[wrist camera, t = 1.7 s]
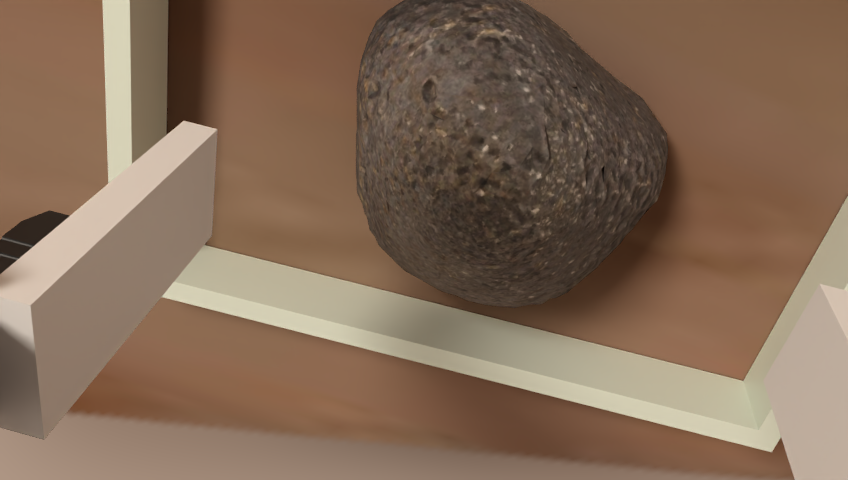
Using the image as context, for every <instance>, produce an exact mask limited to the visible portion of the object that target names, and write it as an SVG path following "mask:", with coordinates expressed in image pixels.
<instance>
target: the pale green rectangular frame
mask: <svg viewBox="0 0 848 480" xmlns="http://www.w3.org/2000/svg"><path fill="white" fill-rule="evenodd" d="M103 27H104V59H105V90H106V121H107V153H108V184H109V183H110V182H111V181H112V180H113V179H115V178H116V177H117V176H118V175H119V174H121V173H122V172H123V171H124V170H125V169H127V168H128V167H129V166H130V165H131V164H133V163H134V162H135V161H136V160H137V159H139V158H140V157H141V156H142V155H143V154H144V153H146V152H147V151H148V150H149V149H150V148H152V147H153V146H154V145H155V144H156V143H158V142H159V141H160V140H161V139H162V138H164V137H165V136H166V135H167V66H168V0H103ZM819 284H823V285H827V286H831V287H834V288H838V289H842V290H846V291H848V196H847V198H846V200H845V202H844V204H843V205H842V207H841V209H840V211H839V212H838V214H837V216H836V218H835V220H834V221H833V223H832V225H831V227H830V228H829V230H828V232H827V234H826V235H825V237H824V239H823V241H822V243H821V244H820V246H819V248H818V250H817V251H816V253H815V255H814V257H813V259H812V260H811V262H810V264H809V266H808V267H807V269H806V271H805V273H804V274H803V276H802V278H801V280H800V282H799V283H798V285H797V287H796V289H795V290H794V292H793V294H792V296H791V297H790V299H789V301H788V303H787V305H786V306H785V308H784V310H783V312H782V313H781V315H780V317H779V319H778V321H777V322H776V324H775V326H774V328H773V329H772V331H771V333H770V335H769V336H768V338H767V340H766V342H765V344H764V345H763V347H762V349H761V351H760V352H759V354H758V356H757V358H756V360H755V361H754V363H753V365H752V367H751V368H750V370H749V372H748V374H747V375H746V377H745V379H744V381H741V380H737V379H733V378H729V377H726V376H722V375H718V374H714V373H710V372H706V371H702V370H698V369H694V368H690V367H686V366H682V365H678V364H674V363H670V362H666V361H662V360H658V359H654V358H650V357H646V356H642V355H638V354H634V353H630V352H626V351H622V350H618V349H614V348H611V347H607V346H603V345H599V344H595V343H591V342H587V341H583V340H579V339H575V338H571V337H567V336H563V335H559V334H555V333H551V332H547V331H543V330H539V329H535V328H531V327H527V326H523V325H519V324H515V323H511V322H507V321H503V320H499V319H495V318H492V317H488V316H484V315H480V314H476V313H472V312H468V311H464V310H460V309H456V308H452V307H448V306H444V305H440V304H436V303H432V302H428V301H424V300H420V299H416V298H412V297H408V296H404V295H400V294H396V293H392V292H388V291H384V290H380V289H377V288H373V287H369V286H365V285H361V284H357V283H353V282H349V281H345V280H341V279H337V278H333V277H329V276H325V275H321V274H317V273H313V272H309V271H305V270H301V269H297V268H293V267H289V266H285V265H281V264H277V263H273V262H269V261H265V260H261V259H258V258H254V257H250V256H246V255H242V254H238V253H234V252H230V251H226V250H222V249H218V248H214V247H210V246H206V245H204V246H203V247H202V248H201V249H200V251H199V252H198V253H197V254H196V255H195V257H194V258H193V259H192V260H191V262H190V263H189V264H188V265H187V266H186V268H185V269H184V270H183V271H182V273H181V274H180V275H179V276H178V277H177V279H176V280H175V281H174V282H173V283H172V285H171V286H170V287H169V288H168V290H167V291H166V292H165V293H164V294H163V296H162V297H164V298H168V299H172V300H176V301H180V302H184V303H188V304H191V305H195V306H199V307H203V308H207V309H211V310H215V311H219V312H223V313H227V314H231V315H235V316H239V317H242V318H246V319H250V320H254V321H258V322H262V323H266V324H270V325H274V326H278V327H282V328H286V329H290V330H294V331H297V332H301V333H305V334H309V335H313V336H317V337H321V338H325V339H329V340H333V341H337V342H341V343H345V344H349V345H352V346H356V347H360V348H364V349H368V350H372V351H376V352H380V353H384V354H388V355H392V356H396V357H400V358H404V359H407V360H411V361H415V362H419V363H423V364H427V365H431V366H435V367H439V368H443V369H447V370H451V371H455V372H458V373H462V374H466V375H470V376H474V377H478V378H482V379H486V380H490V381H494V382H498V383H502V384H506V385H510V386H513V387H517V388H521V389H525V390H529V391H533V392H537V393H541V394H545V395H549V396H553V397H557V398H561V399H565V400H568V401H572V402H576V403H580V404H584V405H588V406H592V407H596V408H600V409H604V410H608V411H612V412H616V413H620V414H623V415H627V416H631V417H635V418H639V419H643V420H647V421H651V422H655V423H659V424H663V425H667V426H671V427H674V428H678V429H682V430H686V431H690V432H694V433H698V434H702V435H706V436H710V437H714V438H718V439H722V440H726V441H729V442H733V443H737V444H741V445H745V446H749V447H753V448H757V449H761V450H765V451H769V452H772V451H773V449H774V448H775V446H776V445H777V443H778V441H779V440H780V438H781V435H780V432H779V428H778V425H777V422H776V419H775V416H774V413H773V410H772V407H771V403H770V400H769V397H768V394H767V391H766V388H765V385H764V381H763V380H764V378H765V377H766V375H767V373H768V372H769V370H770V368H771V366H772V365H773V363H774V361H775V360H776V358H777V356H778V354H779V353H780V351H781V349H782V348H783V346H784V344H785V342H786V341H787V339H788V337H789V335H790V334H791V332H792V330H793V329H794V327H795V325H796V323H797V322H798V320H799V318H800V317H801V315H802V313H803V311H804V310H805V308H806V306H807V305H808V303H809V301H810V299H811V298H812V296H813V294H814V292H815V291H816V289H817V287H818V286H819Z"/></svg>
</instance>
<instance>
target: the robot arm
mask: <svg viewBox="0 0 848 480" xmlns="http://www.w3.org/2000/svg"><path fill="white" fill-rule="evenodd" d="M217 130H218V129H215V128H211V127H207V126H203V125H199V124H195V123H191V122H187V121H183V122H181V123H180V124H179V125H178V126H177V127H176V128H174V129H173V130H172V131H171V132H170V133H168V134H167V135H166V136H165V137H164V138H162V139H161V140H160V141H159V142H158V143H156V144H155V145H154V146H153V147H152V148H150V149H149V150H148V151H147V152H146V153H144V154H143V155H142V156H141V157H140V158H139V159H137V160H136V161H135V162H134V163H133V164H131V165H130V166H129V167H128V168H127V169H125V170H124V171H123V172H122V173H121V174H119V175H118V176H117V177H116V178H115V179H113V180H112V181H111V182H110V183H109V184H107V185H106V186H105V187H104V188H103V189H102V190H100V191H99V192H98V193H97V194H96V195H94V196H93V197H92V198H91V199H90V200H88V201H87V202H86V203H85V204H84V205H82V206H81V207H80V208H79V209H78V210H76V211H75V212H74V213H73V214H72V215H70V216H68V215H65V214H61V213H57V212H53V211H47V212H45V213H42V214H39V215H37V216H34V217H31V218H29V219H26V220H23V221H21V222H20V223H19V224H18V225H16V226H15V227H14V228H12V229H11V230H10V231H8V232H7V233H6V234H5V235H3V236H2V239H1V240H0V428H4V429H8V430H11V431H15V432H19V433H22V434H25V435H29V436H33V437H36V438H40V439H43V440H44V439H45V438H46V437H47V436H48V434H49V433H50V432H51V431H52V430H53V428H54V427H55V426H56V425H57V424H58V422H59V421H60V420H61V419H62V417H63V416H64V415H65V414H66V413H67V411H68V410H69V409H70V408H71V407H72V405H73V404H74V403H75V402H76V400H77V399H78V398H79V397H80V396H81V394H82V393H83V392H84V391H85V389H86V388H87V387H88V386H89V385H90V383H91V382H92V381H93V380H94V379H95V377H96V376H97V375H98V374H99V372H100V371H101V370H102V369H103V368H104V366H105V365H106V364H107V363H108V361H109V360H110V359H111V358H112V357H113V355H114V354H115V353H116V352H117V351H118V349H119V348H120V347H121V346H122V344H123V343H124V342H125V341H126V340H127V338H128V337H129V336H130V335H131V333H132V332H133V331H134V330H135V329H136V327H137V326H138V325H139V324H140V322H141V321H142V320H143V319H144V318H145V316H146V315H147V314H148V313H149V312H150V310H151V309H152V308H153V307H154V305H155V304H156V303H157V302H158V301H159V299H160V298H161V297H162V296H163V294H164V293H165V292H166V291H167V290H168V288H169V287H170V286H171V285H172V283H173V282H174V281H175V280H176V279H177V277H178V276H179V275H180V274H181V273H182V271H183V270H184V269H185V268H186V266H187V265H188V264H189V263H190V262H191V260H192V259H193V258H194V257H195V255H196V254H197V253H198V252H199V251H200V249H201V248H202V247H203V246H204V245H205V243H206V242H207V241H208V240H209V238H210V237H211V236H212V223H213V205H214V186H215V168H216V149H217ZM763 381H764V385H765V388H766V391H767V394H768V397H769V400H770V403H771V407H772V410H773V413H774V416H775V419H776V422H777V425H778V428H779V432H780V435H781V438H782V441H783V444H784V447H785V450H786V454H787V457H788V460H789V463H790V466H791V469H792V472H793V475H794V479H795V480H848V291H846V290H842V289H838V288H834V287H831V286H827V285H823V284H819V286H818V287H817V289H816V291H815V292H814V294H813V296H812V298H811V299H810V301H809V303H808V305H807V306H806V308H805V310H804V311H803V313H802V315H801V317H800V318H799V320H798V322H797V323H796V325H795V327H794V329H793V330H792V332H791V334H790V335H789V337H788V339H787V341H786V342H785V344H784V346H783V348H782V349H781V351H780V353H779V354H778V356H777V358H776V360H775V361H774V363H773V365H772V366H771V368H770V370H769V372H768V373H767V375H766V377H765V378H764V380H763Z"/></svg>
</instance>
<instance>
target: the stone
mask: <svg viewBox="0 0 848 480" xmlns="http://www.w3.org/2000/svg"><path fill="white" fill-rule="evenodd" d="M667 154H668V144H667V134H666V132H665V131H664V129H663V128H662V126H661V125H660V123H659V122H658V121H657V119H656V118H655V116H654V115H653V114H652V112H651V111H650V109H649V108H648V106H647V105H646V103H645V102H644V100H643V99H642V98H641V97H640V96H639V95H637V94H636V93H635V92H633V91H632V90H631V89H629V88H628V87H627V86H625V85H624V84H623V83H621V82H620V81H619V80H617V79H616V78H615V77H614V76H612V75H611V74H610V73H609V72H608V71H606V70H605V69H604V68H603V67H602V66H601V65H599V64H598V63H597V62H596V61H595V60H593V59H592V58H591V57H590V56H589V55H588V54H586V53H585V52H584V51H583V50H582V49H580V48H579V46H578V45H577V44H576V42H575V41H574V40H573V39H572V38H571V37H570V36H569V34H568V33H567V32H566V31H565V30H563V29H562V28H561V27H559V26H558V25H557V24H556V23H554V22H553V21H552V20H551V19H549V18H548V17H547V16H545V15H543V14H541V13H539V12H537V11H536V10H535V9H533V8H532V7H530V6H529V5H527V4H525V3H523V2H521V1H519V0H404V1H402V2H400V3H399V4H397V5H396V6H394V7H393V8H391V9H390V10H388V11H387V12H386V13H385V14H384V15H383V16H381V17H380V18H379V19H378V20H377V22H376V24H375V26H374V28H373V30H372V32H371V34H370V36H369V38H368V41H367V44H366V47H365V50H364V53H363V56H362V59H361V64H360V71H359V77H358V84H357V133H356V178H357V193H358V195H359V197H360V200H361V202H362V204H363V208H364V212H365V215H366V216H367V219H368V224H369V229H370V231H371V232H372V233H373V235H374V236H375V238H376V240H377V242H378V244H379V246H380V247H381V248H382V249H383V250H384V251H385V252H386V253H387V254H388V255H389V256H390V257H391V258H392V259H393V260H394V261H395V262H396V263H397V264H398V265H399V266H400V267H401V268H403V269H404V270H405V271H406V272H408V273H410V274H412V275H414V276H415V277H417V278H419V279H421V280H423V281H424V282H426V283H428V284H430V285H432V286H434V287H435V288H437V289H439V290H441V291H443V292H446V293H449V294H453V295H457V296H459V297H461V298H463V299H464V300H467V301H471V302H476V303H480V304H484V305H490V306H500V307H512V308H516V307H520V306H525V305H531V304H543V303H544V302H546V301H547V300H549V299H550V298H556V297H558V296H561V295H563V294H565V293H567V292H568V291H570V290H571V289H572V288H573V287H574V286H575V285H576V284H578V283H579V282H580V281H581V280H582V279H584V278H585V277H586V276H587V275H588V274H590V273H591V272H592V271H593V270H594V269H596V268H597V267H598V265H599V264H600V263H601V262H602V261H603V260H604V259H605V258H606V257H607V256H608V255H609V254H610V253H611V252H612V251H613V250H614V249H615V248H616V247H617V246H618V245H619V244H620V243H621V241H622V240H623V239H624V237H625V236H626V234H628V233H629V232H630V231H631V230H632V229H633V228H634V226H635V225H636V224H637V222H638V221H639V220H640V219H641V217H642V216H643V215H644V214H645V213H646V211H647V210H648V209H649V208H650V207H651V206H652V205H653V204H654V203H655V202H656V201H657V199H658V196H659V194H660V191H661V188H662V184H663V180H664V176H665V172H666V163H667Z"/></svg>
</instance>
